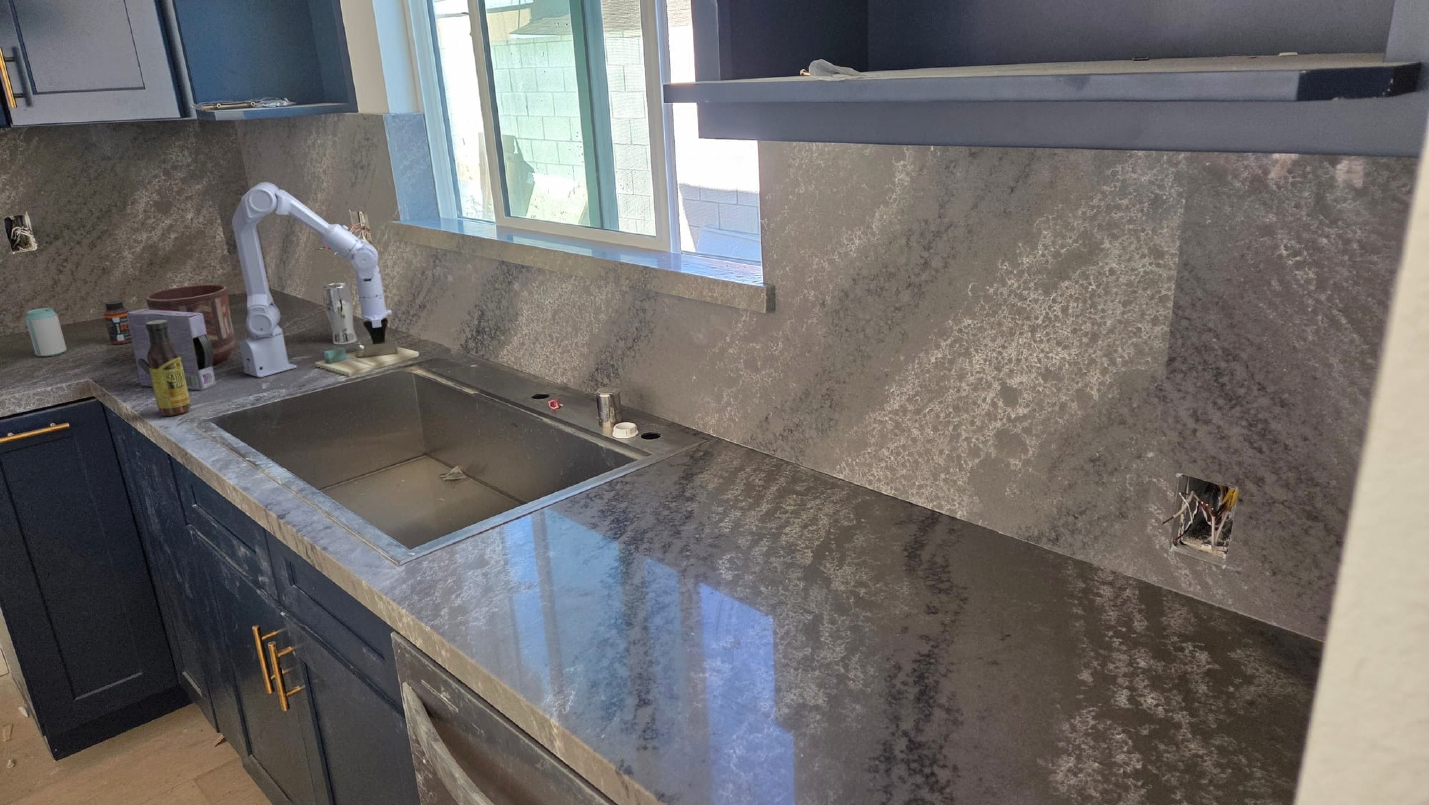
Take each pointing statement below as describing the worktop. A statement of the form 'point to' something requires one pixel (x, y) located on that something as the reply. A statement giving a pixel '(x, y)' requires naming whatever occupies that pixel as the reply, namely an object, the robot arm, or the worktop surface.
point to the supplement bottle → (117, 323)
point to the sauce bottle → (166, 371)
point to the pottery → (203, 301)
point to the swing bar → (375, 348)
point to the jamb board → (360, 361)
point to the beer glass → (339, 312)
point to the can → (45, 332)
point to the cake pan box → (175, 345)
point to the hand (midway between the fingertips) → (380, 349)
